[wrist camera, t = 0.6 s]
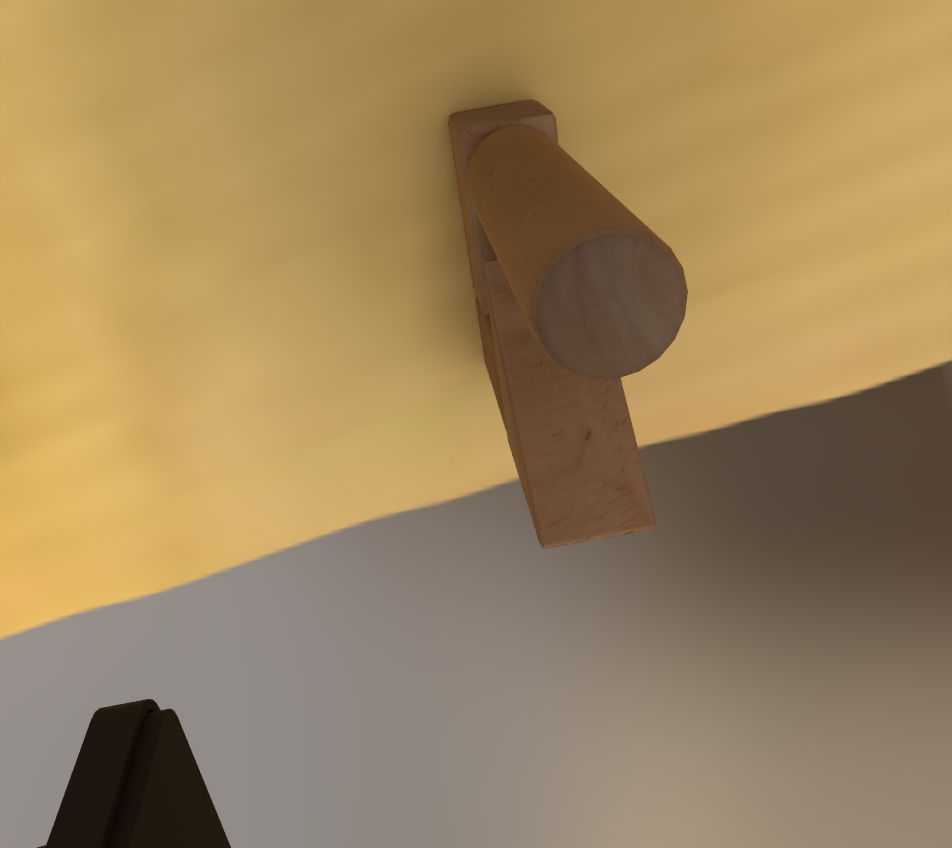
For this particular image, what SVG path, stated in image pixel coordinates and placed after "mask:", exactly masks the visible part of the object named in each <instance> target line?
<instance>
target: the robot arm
mask: <svg viewBox="0 0 952 848" xmlns="http://www.w3.org/2000/svg"><path fill="white" fill-rule="evenodd" d="M38 848H231V847H230V844H229V842H228V840H227V837H226V834H225V832H224V830H223V827H222V824H221V822H220V819H219V817H218V815H217V812H216V810H215V807H214V805H213V803H212V800H211V797H210V795H209V793H208V790H207V788H206V785H205V783H204V781H203V778H202V775H201V773H200V770H199V768H198V766H197V763H196V761H195V758H194V756H193V753H192V751H191V748H190V746H189V744H188V741H187V739H186V736H185V734H184V732H183V729H182V726H181V724H180V721H179V719H178V717H177V715H176V713H175V711H173V710H172V709H166V710H160V708H159V707H158V705H157V703H156V702H155V701H154V700H152V699H147V700H141V701H136V702H130V703H125V704H120V705H114V706H109V707H104V708H100V709H98V710H97V711H96V712H95V713H94V715H93V717H92V719H91V722H90V724H89V727H88V730H87V733H86V736H85V738H84V741H83V744H82V747H81V750H80V753H79V755H78V758H77V761H76V764H75V766H74V769H73V772H72V775H71V778H70V780H69V783H68V786H67V789H66V791H65V794H64V797H63V800H62V803H61V805H60V808H59V811H58V814H57V817H56V819H55V822H54V825H53V828H52V831H51V833H50V836H49V839H48V842H47V845H45V846H41V847H38Z"/></svg>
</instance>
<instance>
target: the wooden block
mask: <svg viewBox="0 0 952 848" xmlns="http://www.w3.org/2000/svg"><path fill="white" fill-rule="evenodd" d="M449 129H450V136H451V142H452V149H453V155H454V162H455V168H456V175H457V181H458V188H459V194H460V201H461V207H462V214H463V220H464V227H465V233H466V240H467V247H468V253H469V260H470V266H471V273H472V279H473V286H474V289H475V292H476V294H477V298H476V305H477V312H478V318H479V325H480V331H481V338H482V344H483V351H484V357H485V364H486V367H487V370H488V373H489V376H490V380H491V383H492V386H493V389H494V393H495V396H496V399H497V402H498V406H499V409H500V412H501V415H502V419H503V422H504V425H505V428H506V431H507V436H508V442H509V445H510V449H511V452H512V455H513V458H514V462H515V465H516V468H517V472H518V475H519V478H520V481H521V484H522V488H523V491H524V494H525V498H526V501H527V504H528V507H529V511H530V514H531V517H532V520H533V524H534V527H535V530H536V533H537V537H538V540H539V542H540V544H541V546H542V547H543V548H546V549H548V548H553V547H559V546H564V545H570V544H575V543H580V542H586V541H591V540H597V539H601V538H607V537H612V536H618V535H624V534H629V533H634V532H640V531H645V530H651V529H654V528H655V527H656V521H655V515H654V512H653V507H652V503H651V499H650V495H649V492H648V487H647V483H646V479H645V475H644V471H643V467H642V463H641V459H640V455H639V451H638V447H637V443H636V439H635V435H634V431H633V427H632V423H631V419H630V415H629V411H628V406H627V402H626V398H625V394H624V390H623V386H622V382H621V378H620V377H623V376H626V375H629V374H632V373H635V372H638V371H640V370H642V369H643V368H645V367H646V366H648V365H649V364H651V363H652V362H654V361H655V360H657V359H658V358H659V357H660V356H661V355H662V354H663V353H664V351H665V350H666V349H667V348H668V347H669V346H670V344H671V343H672V342H673V341H674V340H675V337H676V335H677V333H678V331H679V328H680V326H681V324H682V322H683V320H684V317H685V310H686V302H687V294H688V290H687V285H686V280H685V275H684V271H683V267H682V266H681V264H680V262H679V261H678V259H677V258H676V256H675V254H674V253H673V251H672V250H671V248H670V247H669V246H668V245H667V244H666V243H665V242H663V241H662V240H661V239H660V238H659V237H658V236H657V235H656V234H655V233H654V232H653V231H651V230H650V229H649V228H648V227H647V226H646V225H645V224H644V223H643V222H642V221H641V220H639V219H638V218H637V217H636V216H635V215H634V214H633V213H632V212H631V211H630V210H629V209H627V208H626V207H625V206H624V205H623V204H622V203H621V202H620V201H619V200H618V199H617V198H615V197H614V196H613V195H612V194H611V193H610V192H609V191H608V190H607V189H606V188H605V187H603V186H602V185H601V184H600V183H599V182H598V181H597V180H596V179H595V178H594V177H593V176H591V175H590V174H589V173H588V172H587V171H586V170H585V169H584V168H583V167H582V166H580V165H579V164H578V163H577V162H576V161H575V160H574V159H573V158H572V157H571V156H570V155H568V154H567V153H566V152H565V151H564V150H563V149H562V148H561V147H560V146H559V145H558V137H557V127H556V118H555V116H554V114H553V113H552V112H551V111H550V110H549V109H547V108H546V107H545V106H543V105H542V104H541V103H539V102H538V101H535V100H529V101H523V102H517V103H511V104H505V105H499V106H493V107H487V108H482V109H476V110H470V111H464V112H458V113H454V114H453V115H451V116H450V118H449Z"/></svg>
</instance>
